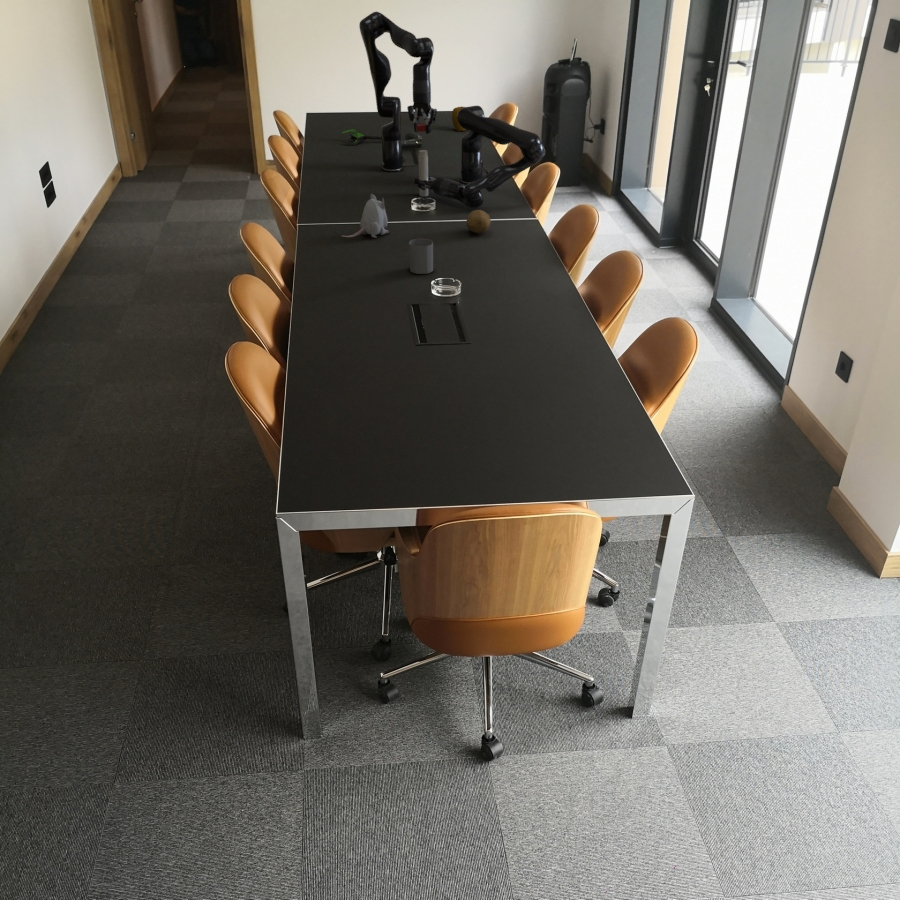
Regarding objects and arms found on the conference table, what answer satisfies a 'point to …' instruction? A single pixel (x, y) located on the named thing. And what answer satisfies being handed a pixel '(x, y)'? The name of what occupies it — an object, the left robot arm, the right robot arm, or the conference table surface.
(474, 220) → the potato
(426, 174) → the white tall cylinder
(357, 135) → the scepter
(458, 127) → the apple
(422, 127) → the lid
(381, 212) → the toy
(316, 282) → the conference table surface
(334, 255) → the conference table surface
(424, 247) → the cup
